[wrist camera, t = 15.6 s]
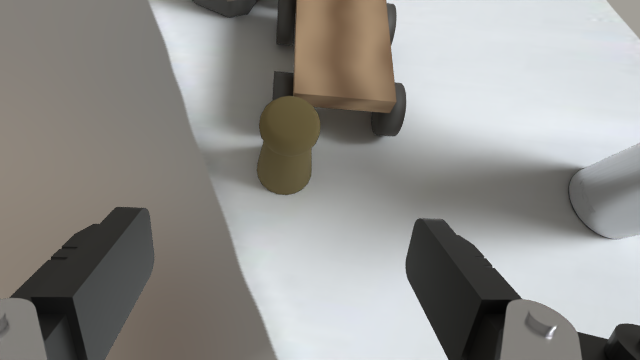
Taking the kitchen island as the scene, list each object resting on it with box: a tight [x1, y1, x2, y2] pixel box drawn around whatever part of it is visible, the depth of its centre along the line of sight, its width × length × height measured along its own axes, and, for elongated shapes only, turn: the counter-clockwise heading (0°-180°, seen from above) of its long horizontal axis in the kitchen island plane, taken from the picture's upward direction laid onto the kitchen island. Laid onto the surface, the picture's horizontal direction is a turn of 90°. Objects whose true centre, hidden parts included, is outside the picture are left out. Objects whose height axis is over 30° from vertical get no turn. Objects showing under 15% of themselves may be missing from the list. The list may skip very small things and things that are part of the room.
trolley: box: [273, 0, 406, 136], centre depth 35 cm, size 14×18×18 cm
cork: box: [257, 96, 321, 195], centre depth 32 cm, size 6×6×11 cm
